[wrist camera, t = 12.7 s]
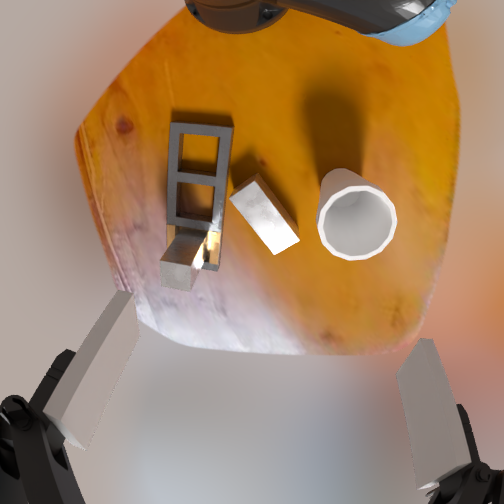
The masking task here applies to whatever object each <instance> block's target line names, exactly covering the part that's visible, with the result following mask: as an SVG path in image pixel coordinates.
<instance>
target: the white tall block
mask: <svg viewBox="0 0 504 504" xmlns="http://www.w3.org/2000/svg"><path fill="white" fill-rule="evenodd" d="M208 242H209V231H207V230H201V229H195V228H189V227H182V228H181V230H180V231H179V232H178V234H177V235H176V237H175V238H174V240H173V241H172V243H171V244H170V246H169V247H168V249H167V250H166V252H165V253H164V255H163V256H162V258H161V259H160V276H161V286H163V287H168V288H173V289H177V290H182V291H188V292H191V290H192V287H193V285H194V283H195V280H196V278H197V276H198V274H199V271H200V269H201V267H202V265H203V262H204V260H205V258H206V256H207V253H208Z"/></svg>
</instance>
